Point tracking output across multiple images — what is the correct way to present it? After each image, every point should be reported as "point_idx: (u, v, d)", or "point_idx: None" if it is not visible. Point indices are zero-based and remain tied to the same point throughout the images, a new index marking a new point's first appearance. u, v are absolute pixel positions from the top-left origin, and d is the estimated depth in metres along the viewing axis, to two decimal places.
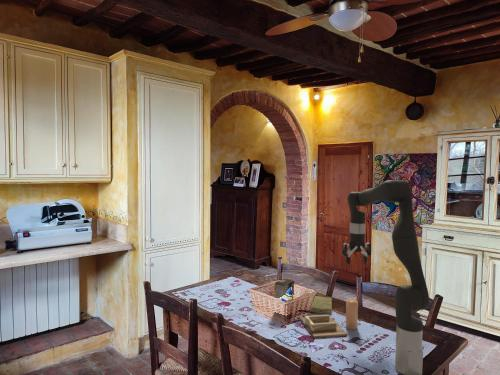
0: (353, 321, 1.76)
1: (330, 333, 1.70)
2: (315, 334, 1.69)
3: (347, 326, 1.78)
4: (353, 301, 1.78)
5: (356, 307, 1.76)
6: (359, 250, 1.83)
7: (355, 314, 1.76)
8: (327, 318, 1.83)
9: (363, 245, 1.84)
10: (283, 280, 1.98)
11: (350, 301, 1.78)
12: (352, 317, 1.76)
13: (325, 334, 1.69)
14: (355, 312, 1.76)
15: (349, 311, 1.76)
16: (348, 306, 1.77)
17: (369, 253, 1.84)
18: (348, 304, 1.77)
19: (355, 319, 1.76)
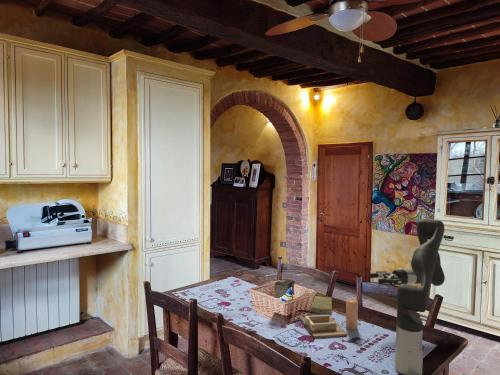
0: (353, 321, 1.76)
1: (330, 333, 1.70)
2: (315, 334, 1.69)
3: (347, 326, 1.78)
4: (353, 301, 1.78)
5: (356, 307, 1.76)
6: (388, 276, 1.80)
7: (355, 314, 1.76)
8: (327, 318, 1.83)
9: (395, 277, 1.78)
10: (283, 280, 1.98)
11: (350, 301, 1.78)
12: (352, 317, 1.76)
13: (325, 334, 1.69)
14: (355, 312, 1.76)
15: (349, 311, 1.76)
16: (348, 306, 1.77)
17: (391, 279, 1.74)
18: (348, 304, 1.77)
19: (355, 319, 1.76)
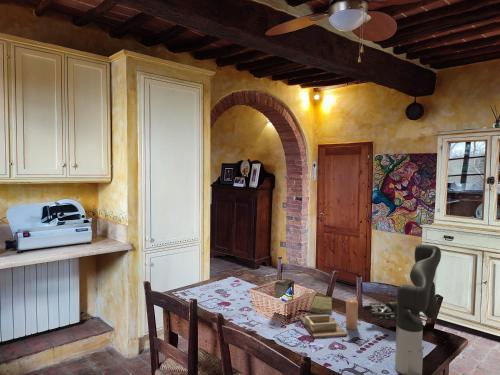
0: (353, 321, 1.76)
1: (330, 333, 1.70)
2: (315, 334, 1.69)
3: (347, 326, 1.78)
4: (354, 301, 1.78)
5: (356, 307, 1.76)
6: (381, 309, 1.80)
7: (355, 314, 1.76)
8: (327, 318, 1.83)
9: (388, 310, 1.79)
10: (283, 280, 1.98)
11: (350, 301, 1.78)
12: (352, 317, 1.76)
13: (325, 334, 1.69)
14: (355, 312, 1.76)
15: (349, 311, 1.76)
16: (348, 306, 1.77)
17: (384, 313, 1.75)
18: (348, 304, 1.77)
19: (355, 319, 1.76)
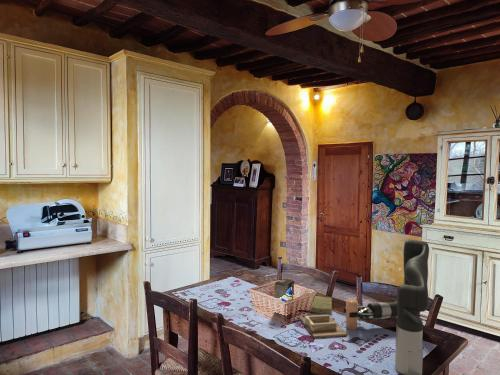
0: (353, 321, 1.76)
1: (330, 333, 1.70)
2: (315, 334, 1.69)
3: (347, 326, 1.78)
4: (353, 301, 1.78)
5: (356, 307, 1.76)
6: (362, 309, 1.79)
7: None
8: (327, 318, 1.83)
9: (368, 311, 1.77)
10: (283, 280, 1.98)
11: (350, 301, 1.78)
12: None
13: (325, 334, 1.69)
14: None
15: (349, 311, 1.76)
16: (348, 306, 1.77)
17: (362, 313, 1.74)
18: (348, 304, 1.77)
19: (355, 319, 1.76)
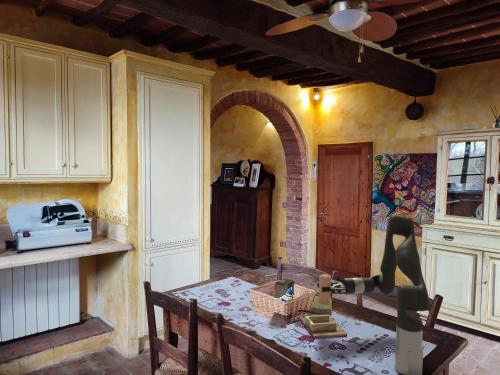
0: (325, 296, 1.75)
1: (330, 333, 1.70)
2: (315, 334, 1.69)
3: (320, 301, 1.76)
4: (326, 276, 1.77)
5: (329, 282, 1.75)
6: None
7: None
8: (327, 318, 1.83)
9: (341, 286, 1.75)
10: (283, 280, 1.98)
11: (323, 276, 1.77)
12: (324, 292, 1.75)
13: (325, 334, 1.69)
14: None
15: (322, 285, 1.75)
16: (321, 281, 1.76)
17: (334, 288, 1.73)
18: (321, 279, 1.75)
19: (328, 294, 1.75)
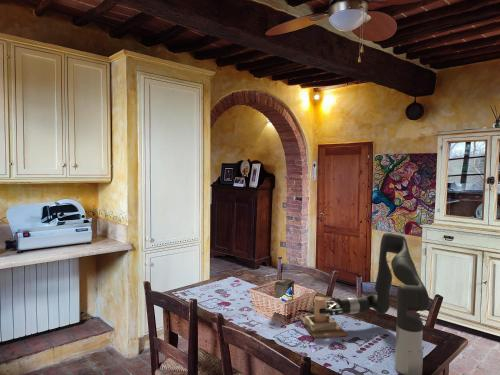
0: (321, 319, 1.75)
1: (330, 333, 1.70)
2: (315, 334, 1.69)
3: None
4: (321, 299, 1.78)
5: (324, 305, 1.75)
6: (331, 305, 1.77)
7: None
8: (327, 318, 1.83)
9: (337, 306, 1.76)
10: (283, 280, 1.98)
11: (318, 299, 1.77)
12: (320, 315, 1.75)
13: (325, 334, 1.69)
14: None
15: (317, 309, 1.76)
16: (316, 304, 1.76)
17: (332, 309, 1.72)
18: (316, 302, 1.76)
19: (323, 317, 1.76)
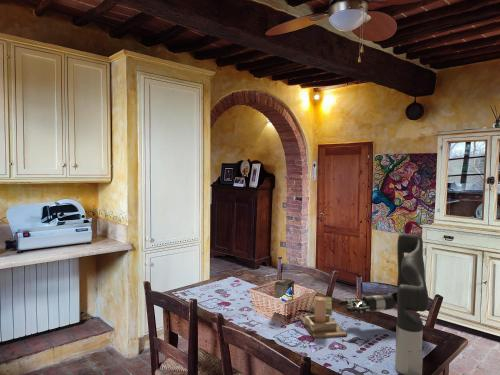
0: (321, 320, 1.75)
1: (330, 333, 1.70)
2: (315, 334, 1.69)
3: None
4: (322, 299, 1.77)
5: (324, 305, 1.75)
6: (357, 303, 1.80)
7: (323, 312, 1.75)
8: (327, 318, 1.83)
9: (364, 304, 1.78)
10: (283, 280, 1.98)
11: (318, 299, 1.77)
12: (320, 315, 1.75)
13: (325, 334, 1.69)
14: (323, 310, 1.75)
15: (317, 309, 1.75)
16: (316, 304, 1.76)
17: (359, 308, 1.74)
18: (316, 302, 1.76)
19: (323, 317, 1.76)
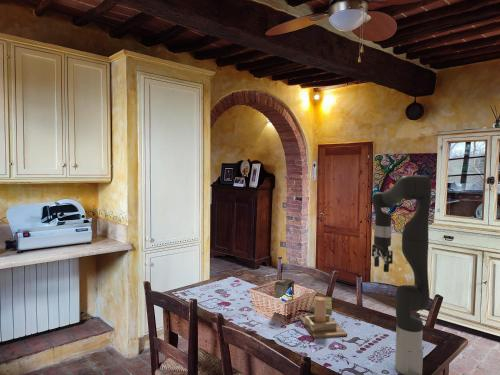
0: (321, 319, 1.75)
1: (330, 333, 1.70)
2: (315, 334, 1.69)
3: None
4: (322, 299, 1.78)
5: (324, 305, 1.75)
6: (380, 255, 1.71)
7: (323, 312, 1.75)
8: (327, 318, 1.83)
9: (383, 250, 1.69)
10: (283, 280, 1.98)
11: (318, 299, 1.77)
12: (320, 315, 1.75)
13: (325, 334, 1.69)
14: (323, 310, 1.75)
15: (317, 309, 1.75)
16: (316, 304, 1.76)
17: (386, 261, 1.66)
18: (316, 302, 1.76)
19: (323, 317, 1.76)
